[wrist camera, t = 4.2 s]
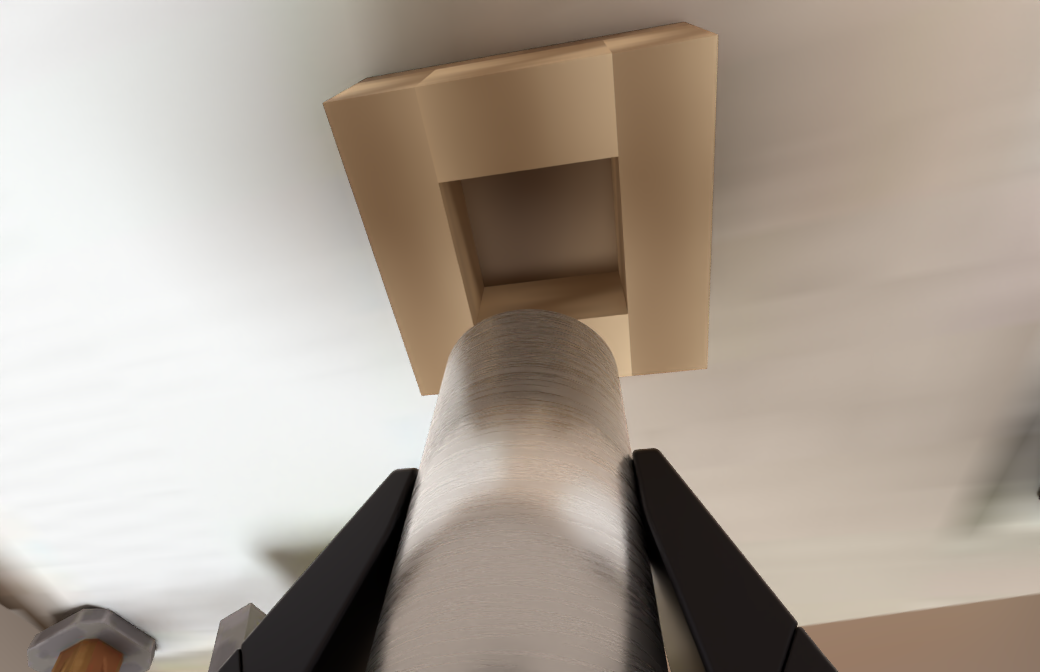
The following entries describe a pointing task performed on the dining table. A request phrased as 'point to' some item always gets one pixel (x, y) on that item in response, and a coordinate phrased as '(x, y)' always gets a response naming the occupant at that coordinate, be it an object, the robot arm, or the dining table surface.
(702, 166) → the bore block
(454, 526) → the pin
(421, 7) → the dining table surface
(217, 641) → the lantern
